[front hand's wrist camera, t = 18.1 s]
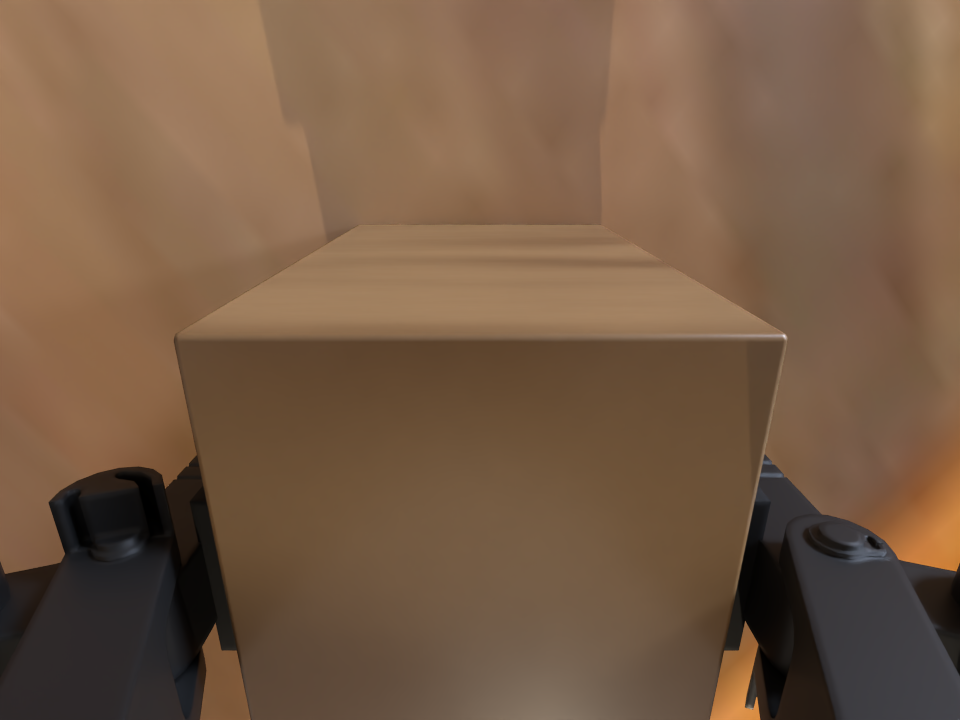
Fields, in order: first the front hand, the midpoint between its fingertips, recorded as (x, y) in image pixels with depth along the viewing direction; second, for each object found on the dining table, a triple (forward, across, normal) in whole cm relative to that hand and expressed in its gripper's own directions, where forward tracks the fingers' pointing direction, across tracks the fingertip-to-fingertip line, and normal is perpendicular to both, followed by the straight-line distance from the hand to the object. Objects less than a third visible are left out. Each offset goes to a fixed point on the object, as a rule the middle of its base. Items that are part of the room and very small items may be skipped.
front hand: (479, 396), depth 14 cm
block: (+2, 0, 0) cm, 2 cm away
